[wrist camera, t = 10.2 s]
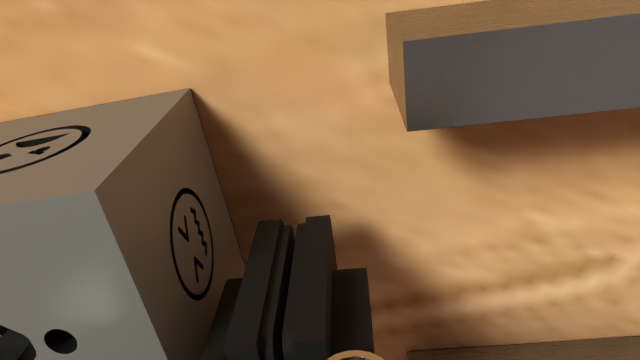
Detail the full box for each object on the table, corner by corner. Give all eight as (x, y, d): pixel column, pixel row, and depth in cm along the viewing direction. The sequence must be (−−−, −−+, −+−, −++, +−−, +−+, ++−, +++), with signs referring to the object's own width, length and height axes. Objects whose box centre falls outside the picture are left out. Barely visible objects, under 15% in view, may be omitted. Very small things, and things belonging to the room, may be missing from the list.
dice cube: (-13, 124, 12) (-224, 242, 7) (190, 87, 11) (94, 190, 7) (71, 291, 14) (-53, 461, 10) (245, 267, 13) (200, 435, 9)
